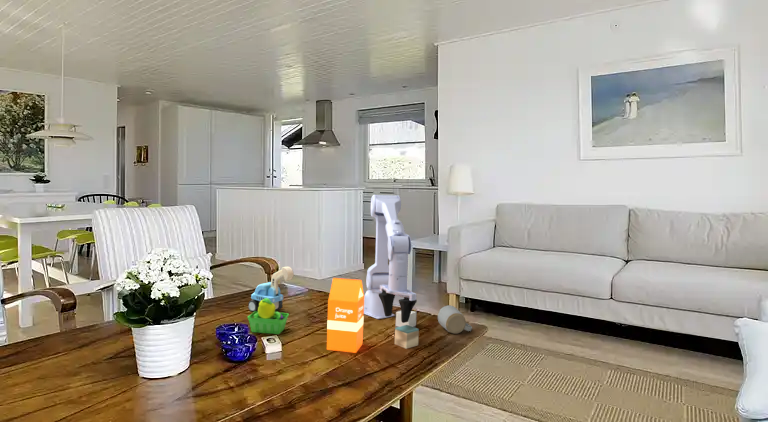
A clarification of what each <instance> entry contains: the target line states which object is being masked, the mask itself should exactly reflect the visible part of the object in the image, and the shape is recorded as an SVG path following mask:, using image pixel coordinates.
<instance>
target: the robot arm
mask: <svg viewBox="0 0 768 422" xmlns="http://www.w3.org/2000/svg"><path fill="white" fill-rule="evenodd" d="M401 207H402V199H401V196H400V195H399V194H397V195H395V194H393V195H391V194H373V195H372V196H371V198H370V216H371V217H372V218H374V219H375V253H374V255H375V257H374V258H375V259H374V264H371V266H369V267H368V268H367V270H366V277H365V279H366V283H365V285H366V289H367V290H366V291H365V294H364V315H366V316H369V317H372V318H374V319H376V320H380V319H385V318H391V317H396V314H394V313H393V309H394V308H393V306H394V301H395V297H396V296H397V297H401V298H402V299H398V304H399V306H400V311H401V321H402V323H405V322H408V320H409V317H410V314H411V311H413V308H414V307H415V305H416V303H417V293H415V292H414V291H412V290H410V289H408V276H409V275H408V274H409V273H408V272H409V271H408V269H409V255H411V251H412V239H411V236H410V235H409V234H407V233H406V230H405V226H404V223H403V221H402V220H400V219H399V213H400V212H401Z"/></svg>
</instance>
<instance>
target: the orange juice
mask: <svg viewBox="0 0 768 422" xmlns="http://www.w3.org/2000/svg"><path fill="white" fill-rule="evenodd" d="M364 296H365V294H364V288H363V281H362V279H353V278H340V277H332V281H331V285H330V292H329V296H328V299H327V321H326V323H327V325H326V329H327V330H326V350H327V351H338V352H345V353H346V352H347V353H354V354H357V352H358V351H359V350H360V348H361V347H362V345H363V340H364V338H363V337H364V319H365V318H364V317H365V316H364V315H365V314H364Z"/></svg>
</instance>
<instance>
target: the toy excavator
mask: <svg viewBox="0 0 768 422" xmlns="http://www.w3.org/2000/svg"><path fill="white" fill-rule="evenodd" d="M280 269H281V270H278V271H276V272H274V273H273V274H272V276H271V280H270V281H268V282H264V283H260V284H258V285H257V286H256V288H255V290H254V292H253V293H252V294H251V296H250V298H251V300H250V301H249V302H248V306H247V308H248V309H249V311H250V312H255V311H258V307H259V303H260V301H261V300H263V299H265V298H268V299H270V301H271V302H272V303H273V304H274V305H275V307H276V308H275V311H280V310H281V309H282V308H283V307H284V306H283V304H284V302H283V300H284V295H283V294H282V293H281V287H279V280H280V279H281V278H283V279H284V282H289V281H291V280H293V278H294V276H295V275H294V271H293V268H292V267H291V266H283V267H281V268H280Z"/></svg>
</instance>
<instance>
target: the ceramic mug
mask: <svg viewBox="0 0 768 422" xmlns="http://www.w3.org/2000/svg"><path fill="white" fill-rule="evenodd" d="M437 320H438V323H439V325H441V327H442V328H444V329H445V330H446V331H447V332H448V333H451V334H454V335H456V334H457V335H458V334H460V333H461V332H463V331H466V332H469V331H470V332H471V331H472V330H473V327H472V325H470V324H469V323H468V322H467V320H466V317H465V316H464V315H463V313H462V312H461V311H460V310H459V309H458V308H456V307H455V306H454V305H452V304H451V305H445V306H442V307H441V308H440V309H439V312H438V314H437Z"/></svg>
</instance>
